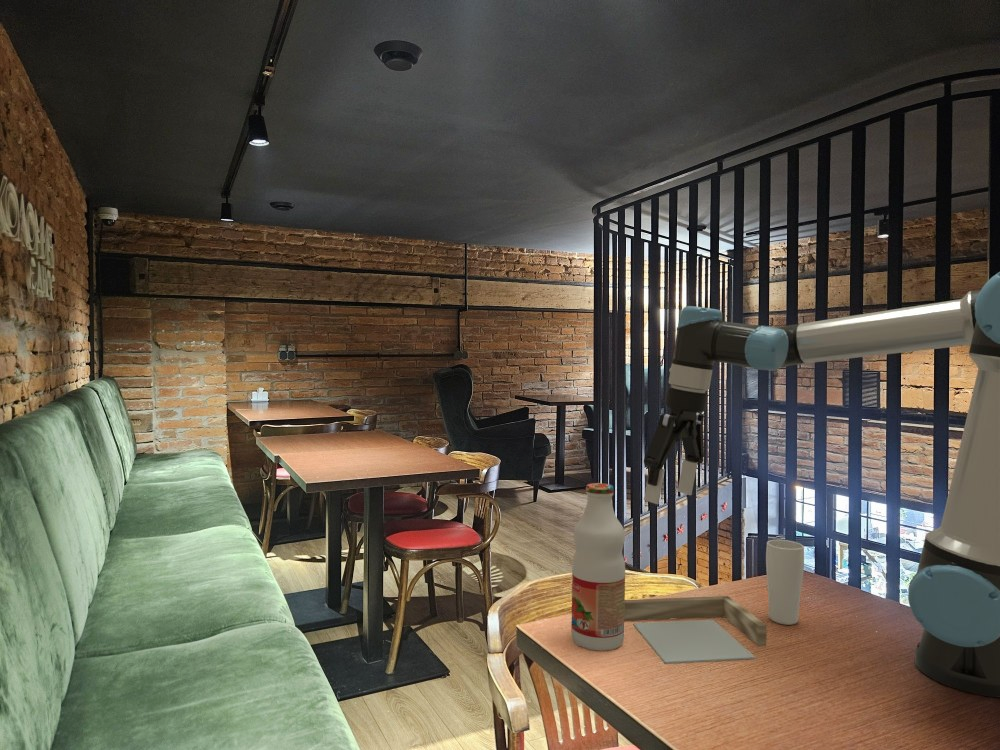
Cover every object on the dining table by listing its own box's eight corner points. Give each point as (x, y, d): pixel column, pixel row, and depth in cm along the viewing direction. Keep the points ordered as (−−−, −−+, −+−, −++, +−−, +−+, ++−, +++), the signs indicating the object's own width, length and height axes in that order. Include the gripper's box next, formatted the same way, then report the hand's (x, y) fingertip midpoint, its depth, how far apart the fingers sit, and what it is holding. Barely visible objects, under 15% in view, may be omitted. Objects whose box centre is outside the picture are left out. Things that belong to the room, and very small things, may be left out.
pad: (755, 659, 111) (755, 657, 111) (665, 663, 109) (665, 661, 109) (712, 621, 127) (712, 619, 127) (633, 624, 125) (633, 623, 125)
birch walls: (766, 644, 117) (766, 625, 117) (638, 651, 114) (639, 631, 113) (727, 613, 131) (727, 595, 131) (613, 618, 128) (613, 600, 128)
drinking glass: (760, 621, 127) (762, 545, 127) (769, 611, 132) (770, 537, 132) (798, 630, 123) (800, 551, 123) (805, 619, 129) (807, 543, 128)
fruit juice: (623, 654, 112) (626, 491, 111) (568, 649, 114) (570, 489, 113) (624, 632, 121) (627, 481, 121) (573, 627, 123) (575, 479, 123)
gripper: (697, 385, 135) (680, 484, 138) (637, 384, 117) (617, 499, 119) (733, 392, 131) (714, 495, 133) (675, 392, 112) (654, 512, 114)
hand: (668, 497), depth 126 cm, fingers open, 13 cm apart
